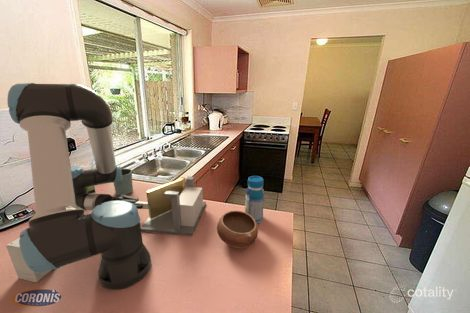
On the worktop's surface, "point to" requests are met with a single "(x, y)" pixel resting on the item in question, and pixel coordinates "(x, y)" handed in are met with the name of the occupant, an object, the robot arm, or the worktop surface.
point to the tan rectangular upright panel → (157, 199)
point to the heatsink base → (167, 224)
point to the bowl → (237, 229)
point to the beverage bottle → (255, 198)
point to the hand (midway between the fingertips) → (150, 205)
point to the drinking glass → (124, 183)
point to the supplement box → (22, 263)
